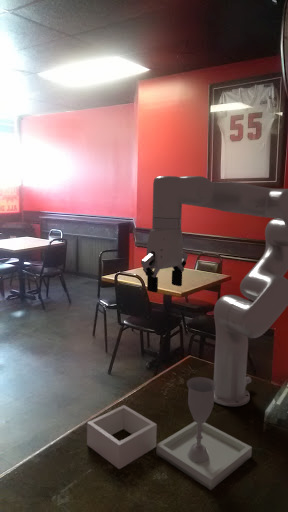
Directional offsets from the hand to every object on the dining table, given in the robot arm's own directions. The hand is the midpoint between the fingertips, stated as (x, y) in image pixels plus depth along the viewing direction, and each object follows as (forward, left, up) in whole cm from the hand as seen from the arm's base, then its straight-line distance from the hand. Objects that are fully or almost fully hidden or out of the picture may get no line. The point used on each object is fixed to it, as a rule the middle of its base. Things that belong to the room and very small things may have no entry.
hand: (164, 288), depth 109 cm
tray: (+6, +20, -36) cm, 42 cm away
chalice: (+8, +19, -36) cm, 41 cm away
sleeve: (+18, +4, -36) cm, 41 cm away
